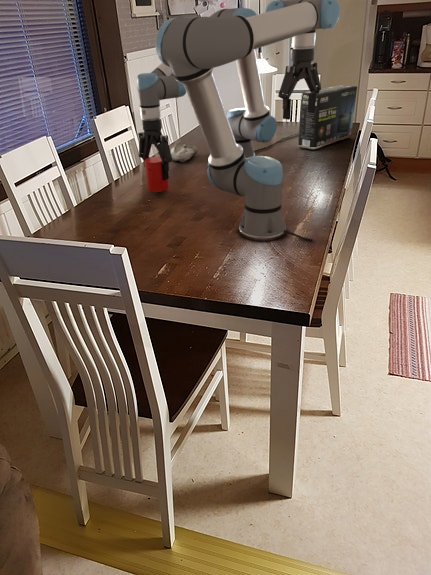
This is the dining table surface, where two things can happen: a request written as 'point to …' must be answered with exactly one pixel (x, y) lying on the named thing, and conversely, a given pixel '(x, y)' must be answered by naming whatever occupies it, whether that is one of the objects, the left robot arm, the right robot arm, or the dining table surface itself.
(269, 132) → the left robot arm
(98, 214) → the dining table surface
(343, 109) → the router box
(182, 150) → the fossil
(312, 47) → the right robot arm
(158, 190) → the canister
